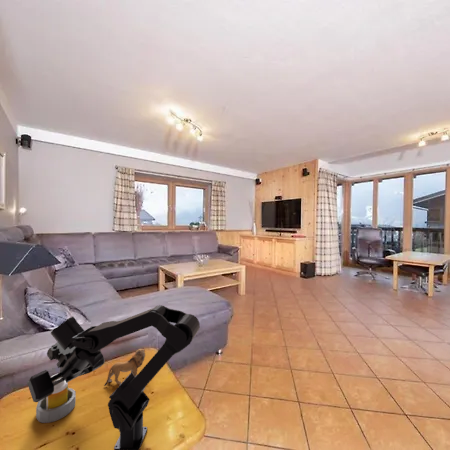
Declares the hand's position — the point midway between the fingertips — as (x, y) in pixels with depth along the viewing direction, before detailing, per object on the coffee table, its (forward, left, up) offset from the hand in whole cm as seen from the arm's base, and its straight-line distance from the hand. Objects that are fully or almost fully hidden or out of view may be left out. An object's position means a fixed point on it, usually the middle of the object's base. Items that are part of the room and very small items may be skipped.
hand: (59, 383), depth 71 cm
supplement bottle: (0, +1, -8) cm, 8 cm away
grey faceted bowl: (+1, +1, -8) cm, 8 cm away
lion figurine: (+16, -14, -9) cm, 23 cm away
